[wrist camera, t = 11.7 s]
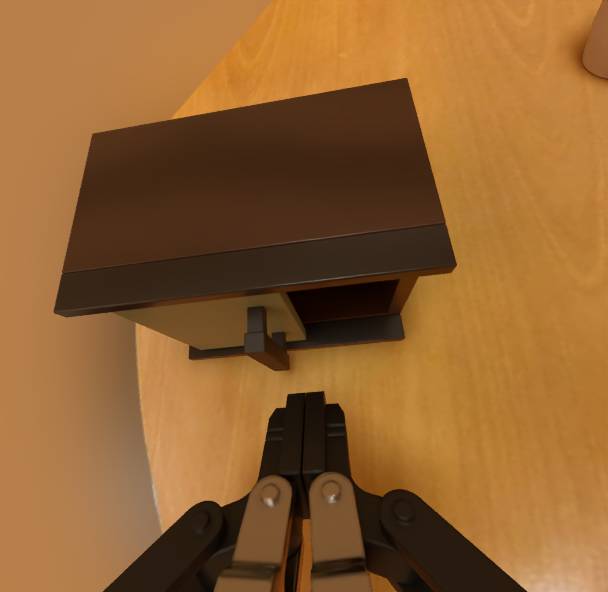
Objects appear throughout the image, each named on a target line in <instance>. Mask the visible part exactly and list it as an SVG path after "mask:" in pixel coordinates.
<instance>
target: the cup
mask: <svg viewBox="0 0 608 592" xmlns="http://www.w3.org/2000/svg"><path fill="white" fill-rule="evenodd" d="M582 62H583V65H584V66H585V68H586V69H587V70H588V71H590V72H591V73H593V74H595V75H597V76H599V77H602V78H606V79H608V0H603V1H602V3H601V5H600V7H599V10H598V12H597V14H596V16H595V19H594V21H593V23H592V26H591V30H590V33H589V36H588V39H587V43H586V46H585V49H584V53H583V56H582Z"/></svg>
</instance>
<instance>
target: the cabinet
mask: <svg viewBox="0 0 608 592" xmlns="http://www.w3.org/2000/svg"><path fill="white" fill-rule="evenodd" d="M445 223H446V222H445V218H444V214H443V210H442V207H441V203H440V199H439V195H438V192H437V188H436V184H435V180H434V177H433V173H432V169H431V165H430V162H429V158H428V154H427V150H426V147H425V143H424V139H423V136H422V132H421V128H420V124H419V121H418V117H417V113H416V109H415V106H414V102H413V98H412V94H411V91H410V87H409V83H408V79H407V78H403V79H397V80H392V81H386V82H380V83H375V84H369V85H363V86H358V87H352V88H347V89H341V90H335V91H330V92H324V93H318V94H313V95H307V96H302V97H296V98H290V99H285V100H279V101H274V102H268V103H262V104H257V105H251V106H245V107H240V108H234V109H229V110H223V111H217V112H212V113H206V114H200V115H195V116H189V117H184V118H178V119H172V120H167V121H162V122H156V123H150V124H144V125H139V126H133V127H128V128H122V129H116V130H111V131H105V132H100V133H94V134H92V138H91V143H90V147H89V152H88V156H87V161H86V165H85V170H84V174H83V179H82V184H81V188H80V193H79V197H78V202H77V206H76V211H75V216H74V220H73V225H72V229H71V234H70V238H69V243H68V247H67V252H66V257H65V261H64V265H63V270H62V273H63V274H62V275H61V280H60V285H59V290H58V294H57V299H56V303H55V307H54V313H55V314H58V315H61V316H64V317H74V316H82V315H91V314H99V313H108V312H117V311H125V310H134V309H143V308H151V307H160V306H169V305H177V304H186V303H195V302H203V301H212V300H221V299H229V298H238V297H246V296H255V295H264V294H272V293H281V292H286V293H287V295H288V297H289V299H290V301H291V303H292V305H293V307H294V309H295V311H296V312H297V314H298V316H299V318H300V320H301V322H302V324H303V326H304V328H305V329H306V340H298V341H288V342H286V349H287V351H295V350H305V349H315V348H326V347H336V346H347V345H357V344H367V343H378V342H388V341H398V340H403V339H404V338H405V336H404V331H403V326H402V320H401V315H400V313H401V311H402V309H403V307H404V305H405V303H406V301H407V299H408V297H409V295H410V293H411V291H412V289H413V287H414V285H415V283H416V281H417V279H418V277H419V276H428V275H437V274H445V273H451V272H452V271H453V270H454V269H455V267H456V266H457V264H456V260H455V256H454V252H453V249H452V245H451V241H450V237H449V234H448V230H447V226H446V224H445ZM243 355H246V354H245V353H244V346H238V347H227V348H217V349H207V350H200V349H197V348H195V347H193V346H189V359H191V360H201V359H212V358H222V357H233V356H243Z"/></svg>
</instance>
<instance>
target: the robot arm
mask: <svg viewBox="0 0 608 592" xmlns="http://www.w3.org/2000/svg"><path fill="white" fill-rule="evenodd" d="M303 519H310V520H311V541H312V562H313V566H312V569H311V592H373V591H372V585H371V580H370V574H369V572H371V573H374V574H377V575H379V576H382V577H384V578H387V579H388V581H389V582H390V583H391V585H392V586H393V587H394V588H395V589H396V591H397V592H527V591H526V590H525V589H524V588H523V587H521V586H520V585H519V584H518V583H517V582H516V581H515V580H513V579H512V578H511V577H510V576H509V575H508V574H506V573H505V572H504V571H503V570H502V569H501V568H500V567H498V566H497V565H496V564H495V563H494V562H493V561H492V560H490V559H489V558H488V557H487V556H486V555H485V554H484V553H482V552H481V551H480V550H479V549H478V548H477V547H476V546H474V545H473V544H472V543H471V542H470V541H469V540H468V539H466V538H465V537H464V536H463V535H462V534H461V533H460V532H458V531H457V530H456V529H455V528H454V527H453V526H452V525H450V524H449V523H448V522H447V521H446V520H445V519H444V518H442V517H441V516H440V515H439V514H438V513H437V512H435V511H434V510H433V509H432V508H431V507H430V506H429V505H427V504H426V503H425V502H424V501H423V500H422V499H421V498H419V497H418V496H417V495H416V494H414V493H412V492H410V491H407V490H403V489H397V490H392V491H390V492H388V493H386V494H385V495H384V496H383V497H381V496H377V495H374V494H370V493H368V492H365V491H363V490H362V489H361V488H359V487H358V486H357V485H356V484H355V482H354V481H353V479H352V477H351V469H350V459H349V449H348V439H347V432H346V424H345V416H344V412H343V410H342V409H341V407H340V406H339V404H338V403H337V404H326V399H325V393H324V391H321V392H309V393H297V394H288V396H287V403H286V408H276V409H275V411H274V412H273V414H272V415H271V417H270V418H269V423H268V429H267V434H266V442H265V445H264V450H263V456H262V461H261V467H260V472H259V477H258V480H257V483H256V484H255V485H254V487H253V488H252V490H251V491H250V492H249V494H247V495H246V496H245V497H243V498H242V499H240V500H238V501H235V502H233V503H230V504H228V505H225V506H223V507H220V505H219V504H217V503H216V502H214V501H203V502H200V503H198V504H196V505H194V506H193V507H191V508H190V509H189V510H188V511H187V512H186V513H185V514H184V515H183V516H182V517H181V518H179V519H178V520H177V521H176V522H175V523H174V524H173V525H172V526H171V527H170V528H169V529H168V530H167V531H166V532H165V533H164V534H163V535H162V536H161V537H160V538H159V539H158V540H157V541H156V542H154V543H153V544H152V545H151V546H150V547H149V548H148V549H147V550H146V551H145V552H144V553H143V554H142V555H141V556H140V557H139V558H138V559H137V560H136V561H134V562H133V563H132V564H131V565H130V566H129V567H128V568H127V569H126V570H125V571H124V572H123V573H122V574H121V575H120V576H119V577H118V578H117V579H116V580H115V581H114V582H113V583H111V584H110V585H109V586H108V587H107V588H106V589H105V590H104V591H103V592H300V586H301V576H302V566H303V556H304V545H305V543H304V537H303V533H302V527H303Z"/></svg>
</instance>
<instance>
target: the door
mask: <svg viewBox="0 0 608 592" xmlns="http://www.w3.org/2000/svg"><path fill="white" fill-rule="evenodd" d="M113 313H115V314H117V315H120V316H122V317H125V318H127V319H129V320H131V321H134V322H136V323H139V324H141V325H143V326H146V327H148V328H150V329H153V330H155V331H157V332H160V333H162V334H164V335H167V336H169V337H171V338H174V339H176V340H178V341H181V342H183V343H186V344H188V345H190V346H193V347H195V348H197V349H200V350H207V349H217V348H227V347H238V346H244V353H245V354H246V355H248V356H249V357H251V358H253V359H255V360H256V361H258V362H260V363H262V364H264V365H265V366H267V367H269V368H271V369H272V370H274V371H282V370H289V369H290V367H289V355H288V354H287V349H286V342H288V341H298V340H306V329H305V328H304V326H303V324H302V322H301V320H300V318H299V316H298V314H297V312H296V311H295V309H294V307H293V305H292V303H291V301H290V299H289V297H288V295H287V293H286V292H281V293H272V294H264V295H255V296H246V297H238V298H229V299H221V300H212V301H203V302H195V303H186V304H177V305H169V306H160V307H151V308H143V309H134V310H125V311H117V312H113Z"/></svg>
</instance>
